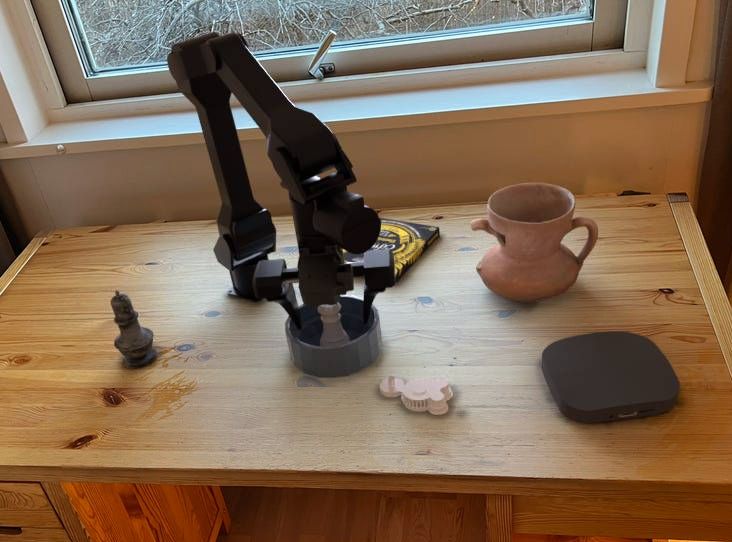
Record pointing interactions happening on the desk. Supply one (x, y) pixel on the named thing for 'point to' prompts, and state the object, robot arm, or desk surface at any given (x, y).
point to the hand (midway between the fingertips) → (332, 325)
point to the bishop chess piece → (132, 334)
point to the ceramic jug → (532, 242)
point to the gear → (419, 393)
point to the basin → (338, 357)
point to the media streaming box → (609, 376)
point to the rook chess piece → (332, 326)
